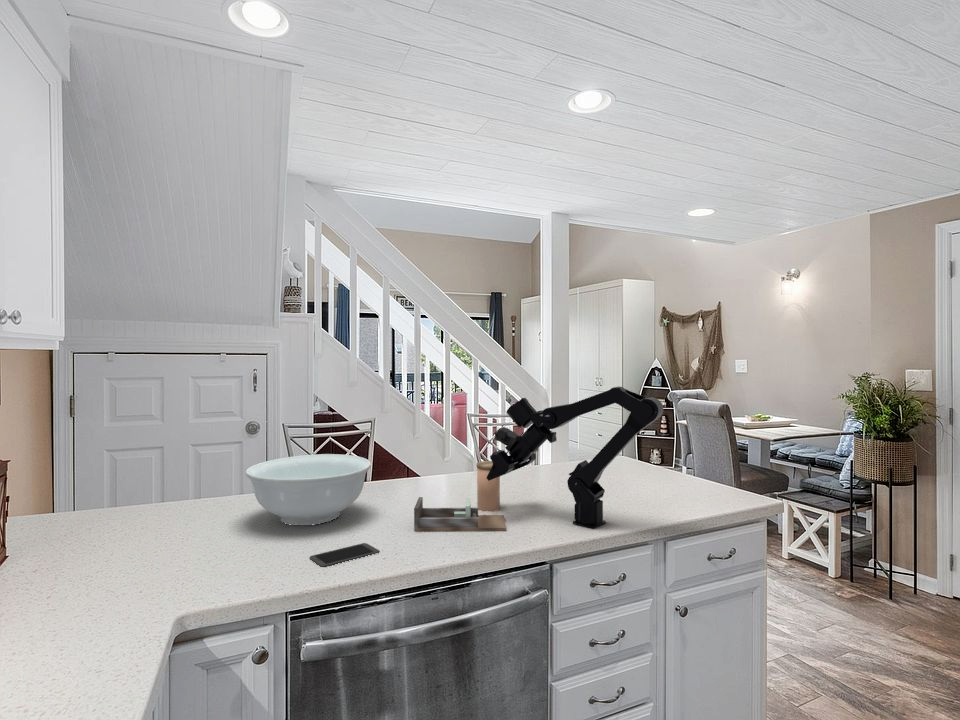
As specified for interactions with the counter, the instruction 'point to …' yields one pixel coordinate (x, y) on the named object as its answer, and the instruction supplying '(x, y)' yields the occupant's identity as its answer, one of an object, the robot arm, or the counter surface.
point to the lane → (454, 520)
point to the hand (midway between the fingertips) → (495, 476)
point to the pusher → (465, 513)
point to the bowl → (308, 486)
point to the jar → (487, 488)
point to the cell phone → (343, 554)
